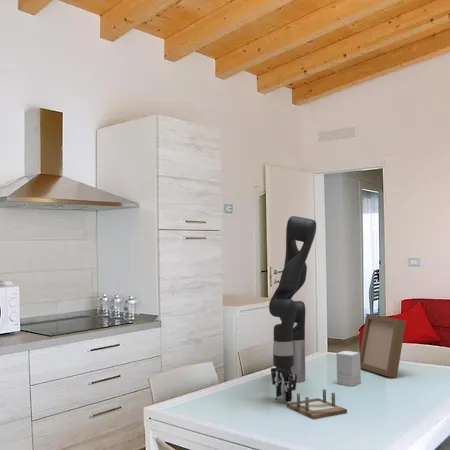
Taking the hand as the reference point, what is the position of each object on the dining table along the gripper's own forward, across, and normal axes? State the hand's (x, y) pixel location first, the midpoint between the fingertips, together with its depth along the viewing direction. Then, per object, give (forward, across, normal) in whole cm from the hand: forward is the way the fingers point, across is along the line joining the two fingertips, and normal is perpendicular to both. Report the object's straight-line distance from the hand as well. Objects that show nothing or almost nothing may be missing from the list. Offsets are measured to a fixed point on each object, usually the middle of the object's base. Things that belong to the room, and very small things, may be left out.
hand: (283, 399), depth 201 cm
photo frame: (+1, +17, -66) cm, 68 cm away
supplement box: (+1, +9, -38) cm, 39 cm away
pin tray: (+1, -14, -4) cm, 15 cm away
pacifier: (+1, +1, 0) cm, 1 cm away
